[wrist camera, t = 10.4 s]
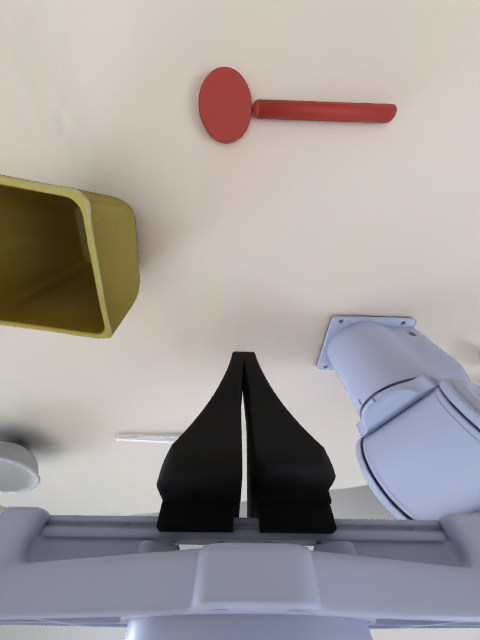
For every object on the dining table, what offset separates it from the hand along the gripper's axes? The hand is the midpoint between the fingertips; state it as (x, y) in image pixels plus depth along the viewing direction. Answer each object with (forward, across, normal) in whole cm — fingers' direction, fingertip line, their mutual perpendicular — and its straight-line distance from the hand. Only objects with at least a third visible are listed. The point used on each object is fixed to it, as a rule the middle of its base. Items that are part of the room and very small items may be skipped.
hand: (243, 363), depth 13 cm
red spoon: (+10, -3, -14) cm, 18 cm away
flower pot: (+11, +13, -5) cm, 17 cm away
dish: (+11, +42, +32) cm, 54 cm away
